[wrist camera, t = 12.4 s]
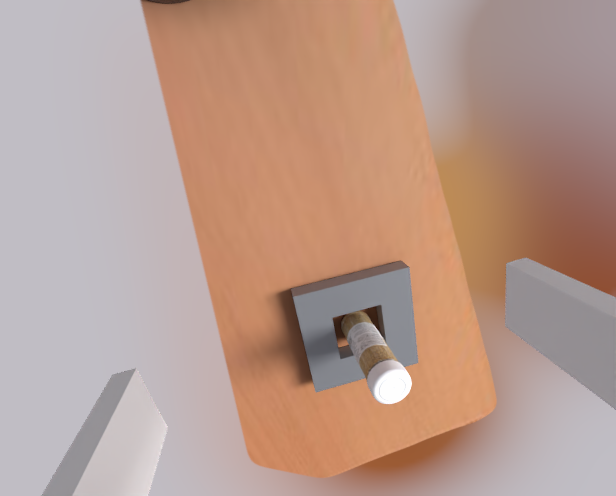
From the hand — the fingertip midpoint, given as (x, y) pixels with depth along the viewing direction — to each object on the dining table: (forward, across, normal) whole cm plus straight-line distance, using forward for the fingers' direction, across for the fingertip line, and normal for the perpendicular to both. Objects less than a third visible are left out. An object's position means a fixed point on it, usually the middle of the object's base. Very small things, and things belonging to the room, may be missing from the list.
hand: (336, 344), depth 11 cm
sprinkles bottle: (+30, +6, -21) cm, 37 cm away
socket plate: (+29, +6, -21) cm, 37 cm away
